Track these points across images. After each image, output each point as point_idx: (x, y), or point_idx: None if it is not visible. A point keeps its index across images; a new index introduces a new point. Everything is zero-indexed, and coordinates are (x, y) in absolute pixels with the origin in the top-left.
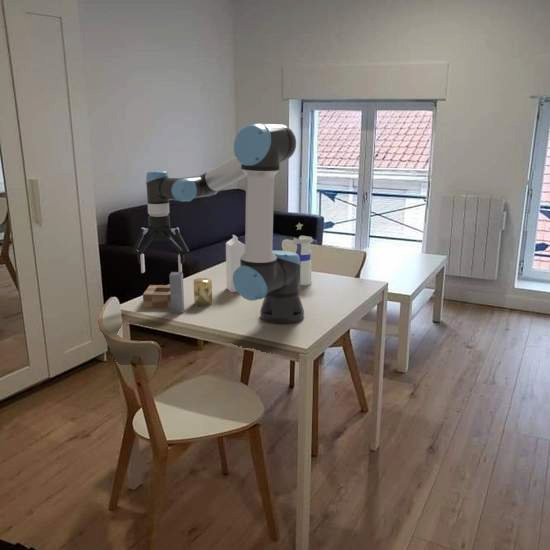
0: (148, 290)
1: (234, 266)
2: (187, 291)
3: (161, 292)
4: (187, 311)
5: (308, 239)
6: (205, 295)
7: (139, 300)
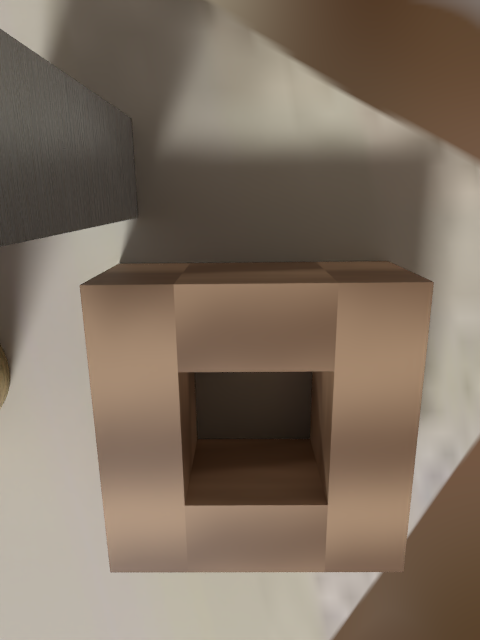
0: (392, 415)
1: None
2: (131, 617)
3: (249, 354)
4: None
5: None
6: None
7: (444, 431)
